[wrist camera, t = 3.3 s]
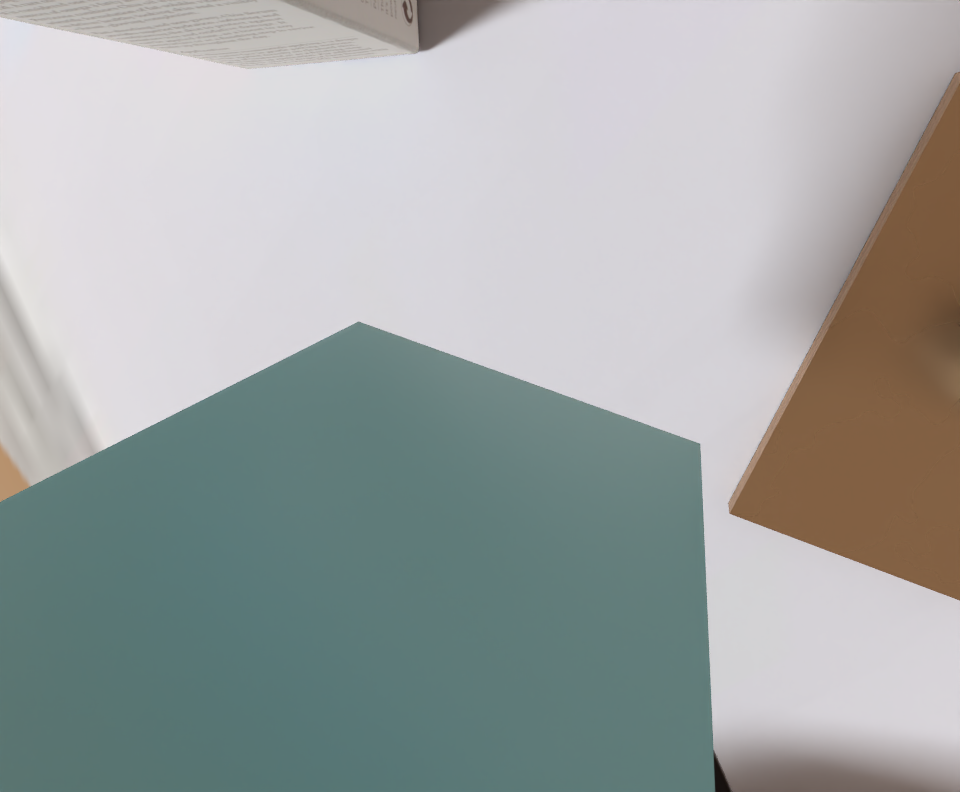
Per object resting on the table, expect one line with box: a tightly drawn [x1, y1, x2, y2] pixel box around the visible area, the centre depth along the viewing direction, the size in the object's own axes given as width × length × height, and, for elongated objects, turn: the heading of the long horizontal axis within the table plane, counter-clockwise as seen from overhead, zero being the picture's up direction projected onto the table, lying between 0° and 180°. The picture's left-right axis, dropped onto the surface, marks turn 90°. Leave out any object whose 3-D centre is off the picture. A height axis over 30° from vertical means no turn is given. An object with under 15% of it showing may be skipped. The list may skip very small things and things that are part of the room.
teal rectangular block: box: [0, 322, 715, 792], centre depth 7 cm, size 5×5×7 cm
